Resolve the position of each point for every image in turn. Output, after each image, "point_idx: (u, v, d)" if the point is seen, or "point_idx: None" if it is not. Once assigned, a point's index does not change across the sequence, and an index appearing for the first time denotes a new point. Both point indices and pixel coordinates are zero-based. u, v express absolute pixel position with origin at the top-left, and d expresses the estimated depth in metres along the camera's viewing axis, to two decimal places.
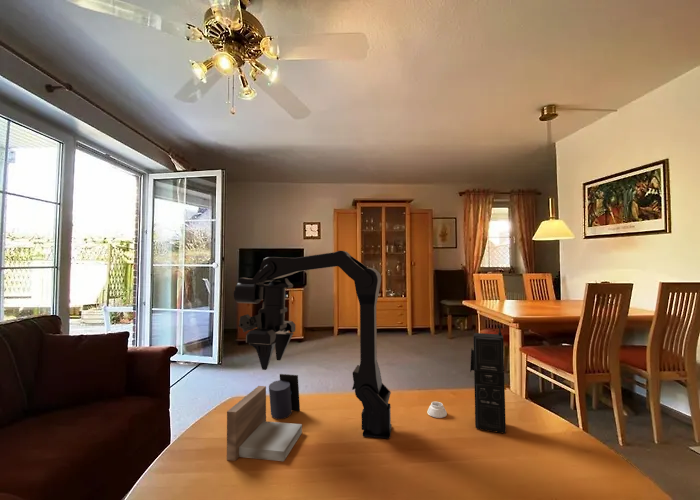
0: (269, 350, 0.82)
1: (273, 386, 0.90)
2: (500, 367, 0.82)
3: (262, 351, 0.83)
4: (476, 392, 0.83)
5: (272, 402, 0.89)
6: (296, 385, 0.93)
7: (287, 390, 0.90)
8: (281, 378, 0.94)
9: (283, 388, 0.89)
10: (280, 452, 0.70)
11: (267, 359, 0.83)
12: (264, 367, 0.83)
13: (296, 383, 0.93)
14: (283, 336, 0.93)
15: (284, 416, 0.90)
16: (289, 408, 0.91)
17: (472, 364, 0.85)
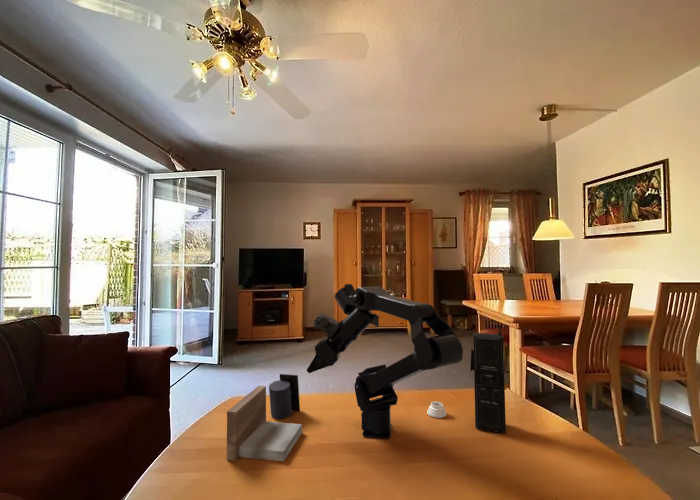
0: (325, 365, 0.84)
1: (273, 386, 0.90)
2: (500, 367, 0.82)
3: (318, 359, 0.85)
4: (476, 392, 0.83)
5: (272, 402, 0.89)
6: (296, 385, 0.93)
7: (287, 390, 0.90)
8: (281, 378, 0.94)
9: (283, 388, 0.89)
10: (280, 452, 0.70)
11: (317, 368, 0.85)
12: (309, 370, 0.86)
13: (296, 383, 0.93)
14: None
15: (284, 416, 0.90)
16: (289, 408, 0.91)
17: (472, 364, 0.85)
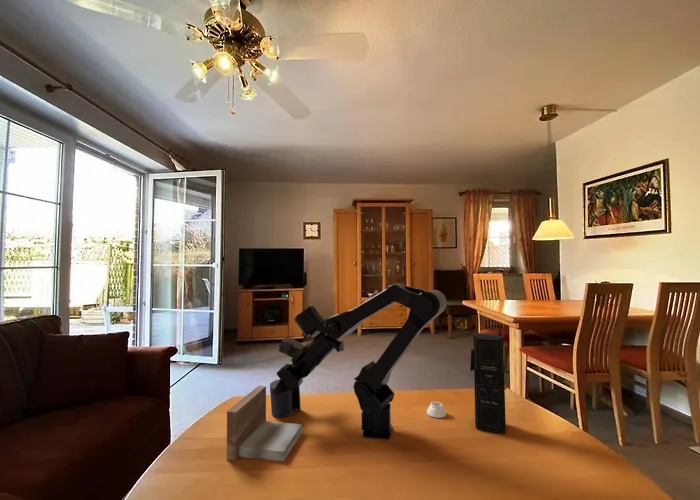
0: (289, 388, 0.86)
1: (274, 385, 0.91)
2: (500, 367, 0.82)
3: (283, 382, 0.87)
4: (476, 392, 0.83)
5: (273, 400, 0.90)
6: None
7: None
8: None
9: None
10: (280, 452, 0.70)
11: (282, 391, 0.87)
12: (275, 393, 0.88)
13: None
14: None
15: (284, 415, 0.90)
16: (290, 407, 0.91)
17: (472, 364, 0.85)
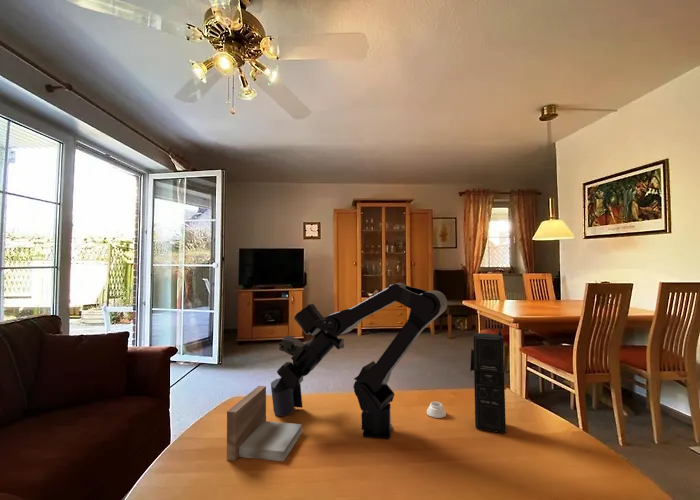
0: (290, 386, 0.87)
1: (275, 384, 0.91)
2: (500, 367, 0.82)
3: (284, 381, 0.88)
4: (476, 392, 0.83)
5: (274, 400, 0.90)
6: None
7: None
8: None
9: None
10: (280, 452, 0.70)
11: (283, 389, 0.88)
12: (276, 391, 0.89)
13: None
14: None
15: (286, 413, 0.91)
16: (291, 405, 0.92)
17: (472, 364, 0.85)
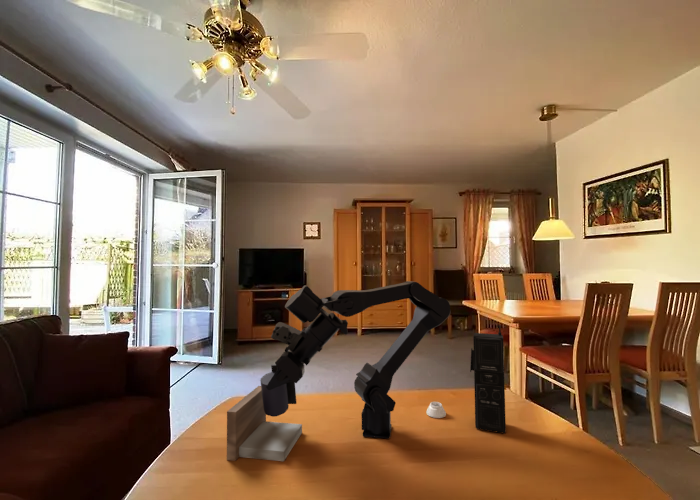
0: (288, 380, 0.74)
1: (266, 380, 0.77)
2: (500, 367, 0.82)
3: (280, 374, 0.74)
4: (476, 392, 0.83)
5: (266, 398, 0.77)
6: None
7: None
8: (273, 369, 0.81)
9: None
10: (280, 452, 0.70)
11: (279, 384, 0.74)
12: (269, 387, 0.75)
13: None
14: None
15: (281, 412, 0.78)
16: (286, 403, 0.79)
17: (472, 364, 0.85)
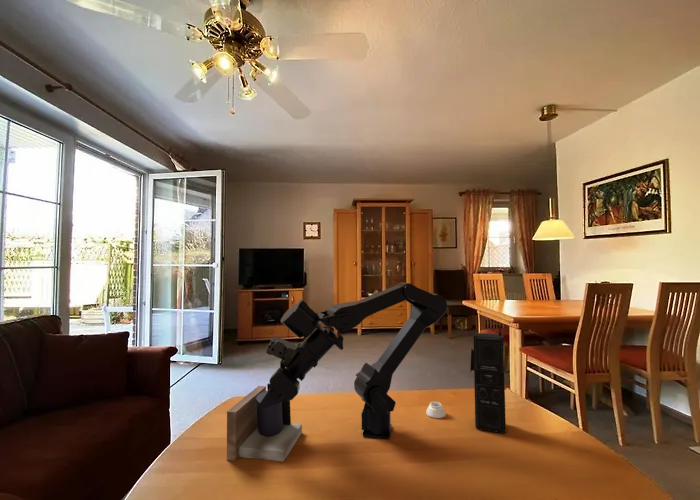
0: (281, 399, 0.71)
1: None
2: (500, 367, 0.82)
3: (273, 393, 0.72)
4: (476, 392, 0.83)
5: (261, 417, 0.76)
6: None
7: None
8: (269, 388, 0.81)
9: None
10: (280, 452, 0.70)
11: (271, 403, 0.72)
12: (262, 406, 0.72)
13: None
14: None
15: (275, 432, 0.77)
16: (281, 423, 0.78)
17: (472, 364, 0.85)
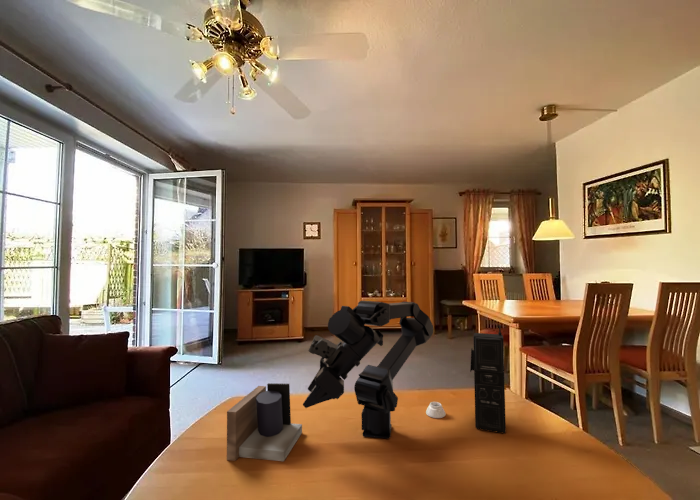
0: (326, 398, 0.72)
1: (262, 399, 0.77)
2: (500, 367, 0.82)
3: (318, 391, 0.72)
4: (476, 392, 0.83)
5: (261, 417, 0.76)
6: (287, 395, 0.81)
7: (279, 402, 0.77)
8: (269, 388, 0.81)
9: (274, 400, 0.77)
10: (280, 452, 0.70)
11: (316, 402, 0.72)
12: (306, 405, 0.73)
13: (287, 393, 0.81)
14: None
15: (275, 432, 0.77)
16: (281, 423, 0.78)
17: (472, 364, 0.85)
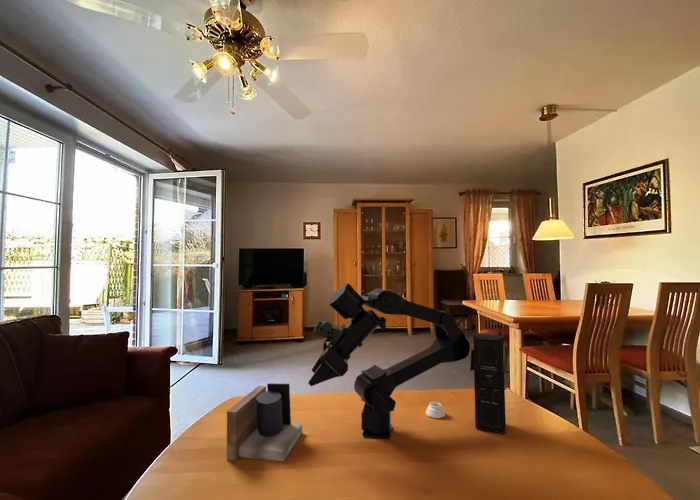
0: (331, 376, 0.75)
1: (262, 399, 0.77)
2: (500, 367, 0.82)
3: (323, 370, 0.76)
4: (476, 392, 0.83)
5: (261, 417, 0.76)
6: (287, 395, 0.81)
7: (279, 402, 0.77)
8: (269, 388, 0.81)
9: (274, 400, 0.77)
10: (280, 452, 0.70)
11: (321, 380, 0.76)
12: (312, 383, 0.76)
13: (287, 393, 0.81)
14: None
15: (275, 432, 0.77)
16: (281, 423, 0.78)
17: (472, 364, 0.85)
